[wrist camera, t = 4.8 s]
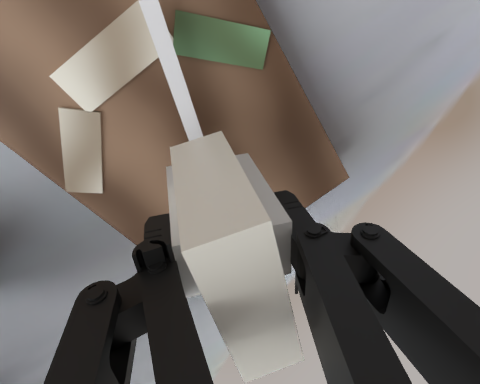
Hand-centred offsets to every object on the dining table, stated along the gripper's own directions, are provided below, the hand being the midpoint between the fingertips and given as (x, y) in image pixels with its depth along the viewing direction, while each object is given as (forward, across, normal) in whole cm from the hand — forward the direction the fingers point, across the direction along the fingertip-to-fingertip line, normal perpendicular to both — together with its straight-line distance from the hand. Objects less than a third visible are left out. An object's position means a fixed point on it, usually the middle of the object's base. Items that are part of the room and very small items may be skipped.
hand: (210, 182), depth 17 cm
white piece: (+3, 0, +3) cm, 4 cm away
